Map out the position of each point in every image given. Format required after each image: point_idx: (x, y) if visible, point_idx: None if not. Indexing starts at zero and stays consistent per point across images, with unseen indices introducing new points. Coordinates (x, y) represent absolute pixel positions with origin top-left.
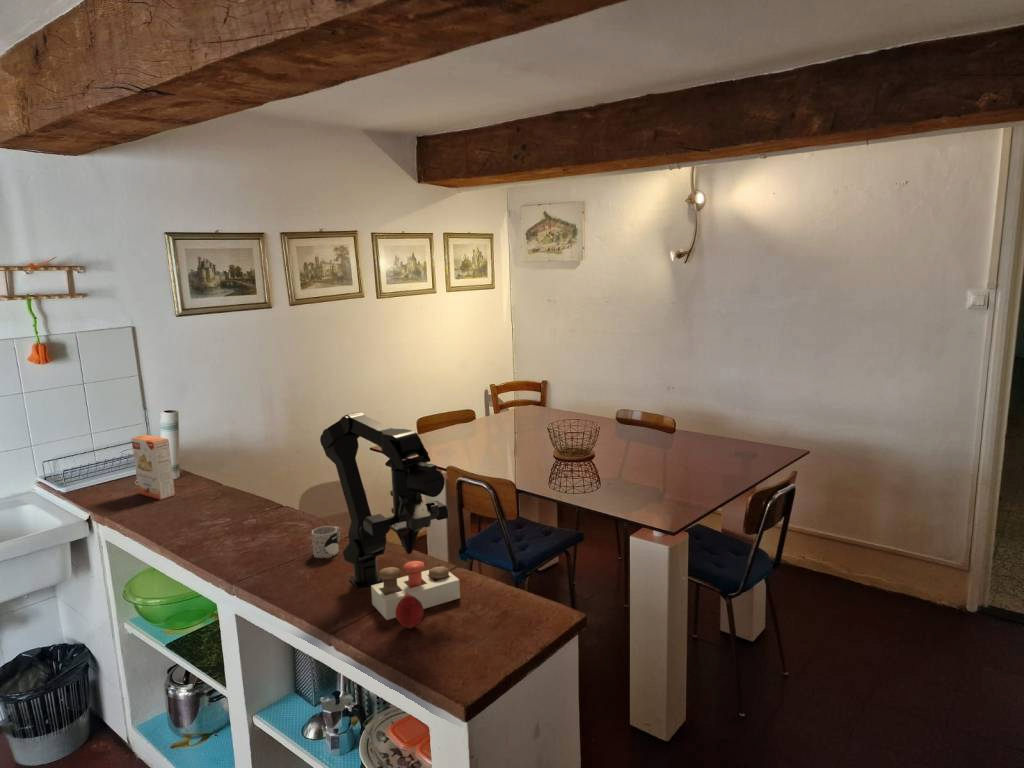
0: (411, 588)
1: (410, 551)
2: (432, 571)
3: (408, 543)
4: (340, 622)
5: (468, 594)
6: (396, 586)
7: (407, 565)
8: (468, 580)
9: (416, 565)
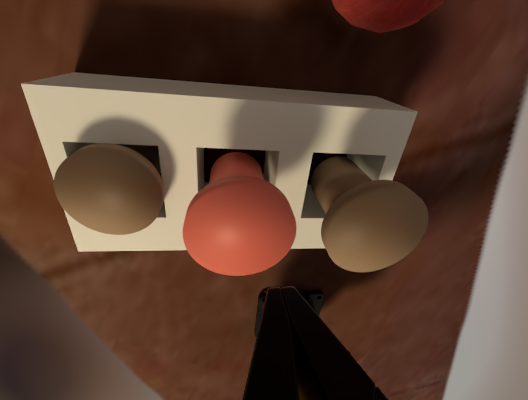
0: (276, 147)
1: (281, 299)
2: (142, 205)
3: (328, 371)
4: (458, 169)
5: (28, 78)
6: (334, 177)
7: (272, 247)
8: (5, 183)
9: (233, 224)
